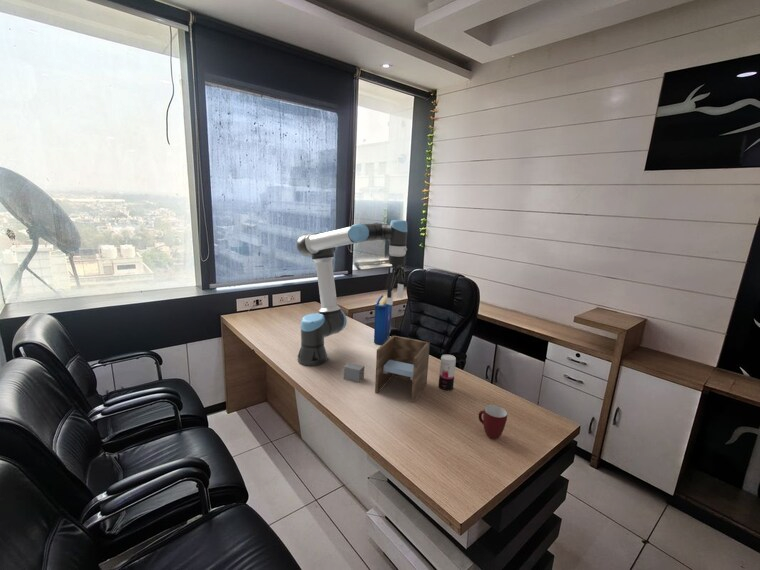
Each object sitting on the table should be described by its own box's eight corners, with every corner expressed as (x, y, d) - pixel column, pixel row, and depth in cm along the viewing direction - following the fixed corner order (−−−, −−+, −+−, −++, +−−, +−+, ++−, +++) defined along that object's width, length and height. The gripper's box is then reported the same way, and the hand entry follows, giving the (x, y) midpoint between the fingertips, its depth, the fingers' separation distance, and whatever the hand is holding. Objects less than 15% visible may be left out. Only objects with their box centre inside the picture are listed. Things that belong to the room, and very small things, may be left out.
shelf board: (383, 370, 156) (383, 365, 155) (389, 364, 162) (389, 359, 162) (414, 378, 151) (414, 372, 150) (418, 371, 157) (419, 366, 156)
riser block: (343, 378, 166) (343, 366, 165) (348, 374, 171) (349, 362, 169) (359, 382, 163) (359, 370, 162) (363, 377, 168) (364, 366, 166)
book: (384, 346, 207) (386, 304, 201) (372, 344, 208) (374, 303, 203) (390, 333, 227) (392, 295, 222) (379, 332, 229) (381, 294, 223)
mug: (470, 431, 131) (473, 407, 129) (482, 423, 136) (484, 399, 134) (497, 446, 123) (500, 420, 121) (508, 436, 129) (511, 411, 127)
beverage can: (445, 393, 157) (448, 361, 154) (435, 386, 163) (438, 356, 159) (456, 389, 161) (459, 358, 157) (446, 383, 166) (448, 353, 163)
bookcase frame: (374, 392, 155) (376, 349, 151) (391, 374, 172) (393, 335, 168) (414, 402, 148) (417, 358, 144) (426, 382, 166) (429, 342, 161)
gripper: (395, 259, 147) (392, 308, 152) (413, 252, 170) (411, 296, 174) (378, 257, 150) (376, 306, 155) (399, 251, 172) (396, 294, 177)
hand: (394, 301), depth 164 cm, fingers open, 13 cm apart
